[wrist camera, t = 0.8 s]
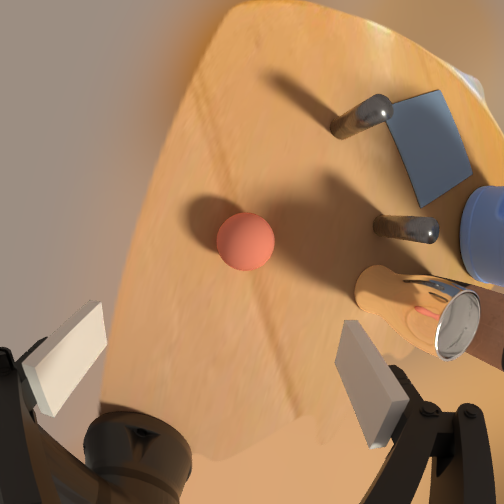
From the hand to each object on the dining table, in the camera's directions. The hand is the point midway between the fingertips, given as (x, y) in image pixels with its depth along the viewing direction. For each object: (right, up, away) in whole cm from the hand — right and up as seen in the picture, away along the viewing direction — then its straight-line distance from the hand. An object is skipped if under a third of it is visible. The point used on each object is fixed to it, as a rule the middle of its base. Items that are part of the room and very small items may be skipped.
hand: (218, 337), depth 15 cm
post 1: (+12, +19, +17) cm, 28 cm away
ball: (+1, +5, +14) cm, 15 cm away
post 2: (+18, +8, +19) cm, 27 cm away
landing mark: (+27, +20, +20) cm, 39 cm away
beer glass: (+17, 0, +20) cm, 26 cm away
